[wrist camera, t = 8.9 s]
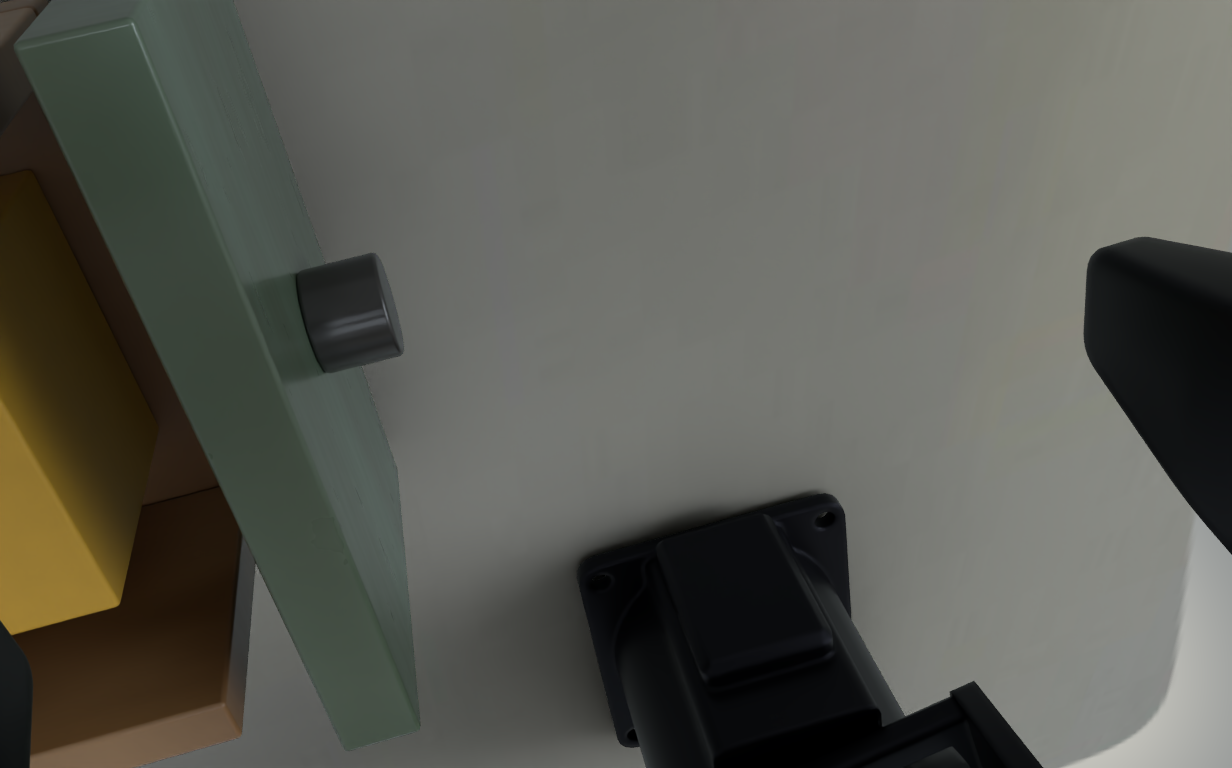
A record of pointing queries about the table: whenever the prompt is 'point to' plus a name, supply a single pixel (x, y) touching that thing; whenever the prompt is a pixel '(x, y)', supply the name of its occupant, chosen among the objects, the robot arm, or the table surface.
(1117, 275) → the robot arm
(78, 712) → the drawer
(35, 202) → the small carton
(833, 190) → the table surface
